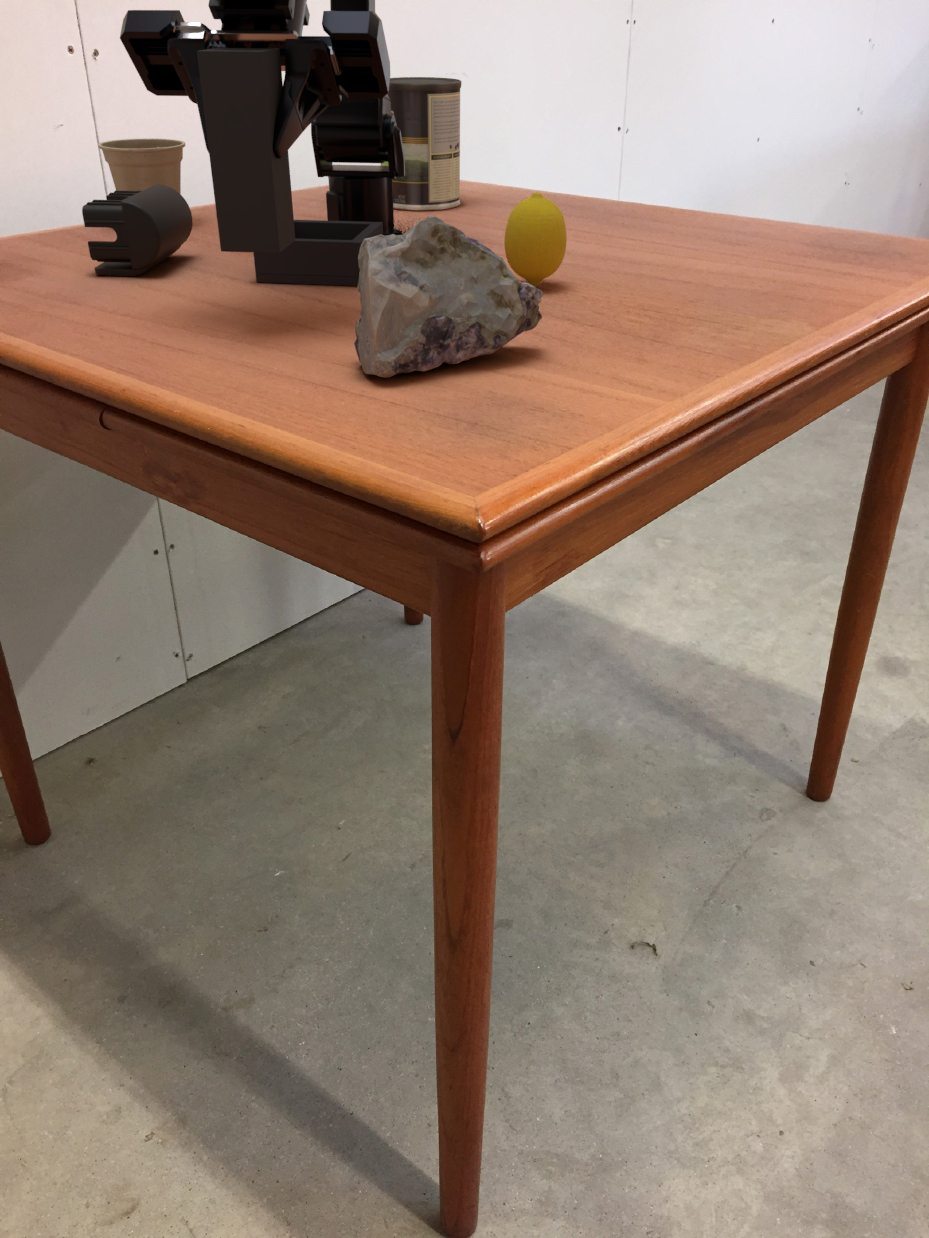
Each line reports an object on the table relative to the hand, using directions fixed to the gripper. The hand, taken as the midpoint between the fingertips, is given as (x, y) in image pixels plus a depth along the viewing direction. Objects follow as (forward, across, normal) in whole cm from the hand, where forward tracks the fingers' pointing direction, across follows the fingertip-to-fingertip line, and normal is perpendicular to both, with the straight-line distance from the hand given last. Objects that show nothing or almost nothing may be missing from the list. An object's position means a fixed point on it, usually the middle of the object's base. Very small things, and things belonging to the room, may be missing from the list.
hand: (243, 153), depth 72 cm
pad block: (+4, 0, +6) cm, 7 cm away
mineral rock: (+13, +16, +5) cm, 21 cm away
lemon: (-3, +20, +22) cm, 30 cm away
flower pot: (-20, -25, +39) cm, 51 cm away
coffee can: (-33, +3, +52) cm, 62 cm away
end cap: (-6, -18, +25) cm, 31 cm away
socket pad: (-6, 0, +24) cm, 25 cm away
